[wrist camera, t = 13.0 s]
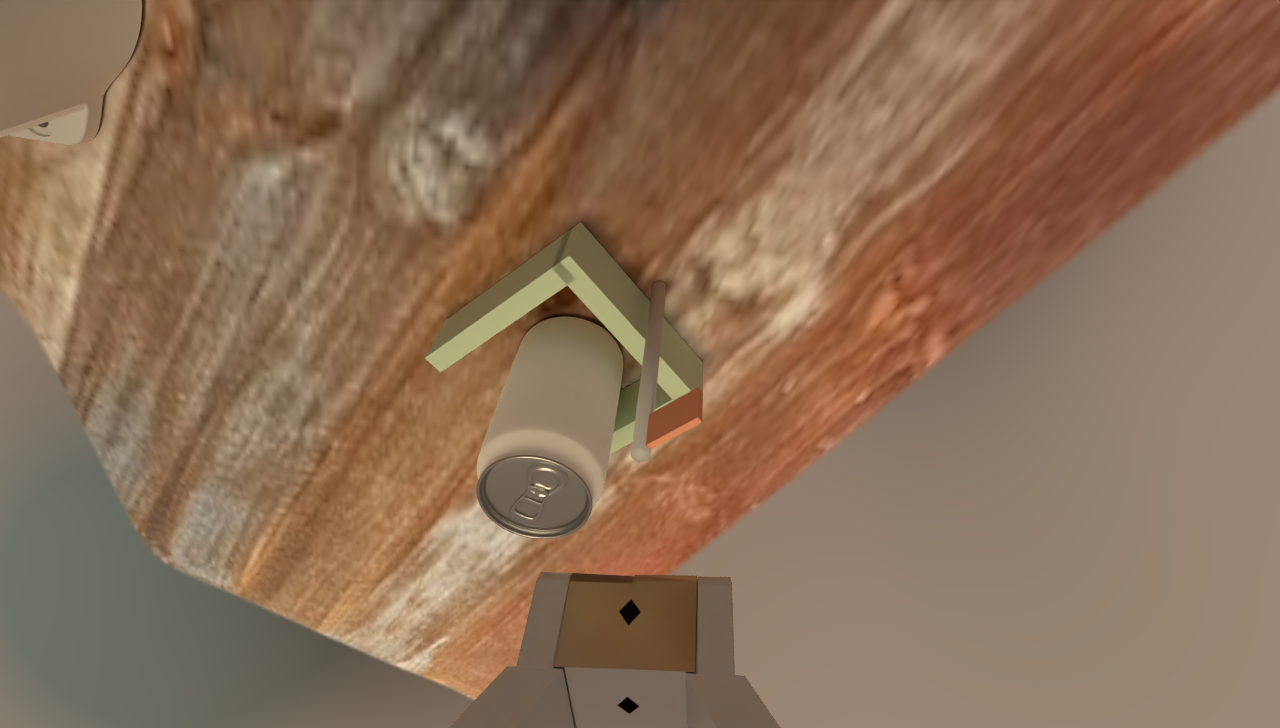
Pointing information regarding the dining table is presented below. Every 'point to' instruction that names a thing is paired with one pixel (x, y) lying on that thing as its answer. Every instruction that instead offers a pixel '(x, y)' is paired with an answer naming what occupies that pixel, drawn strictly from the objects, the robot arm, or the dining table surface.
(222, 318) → the dining table surface
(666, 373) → the olive frame
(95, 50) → the robot arm
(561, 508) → the can
